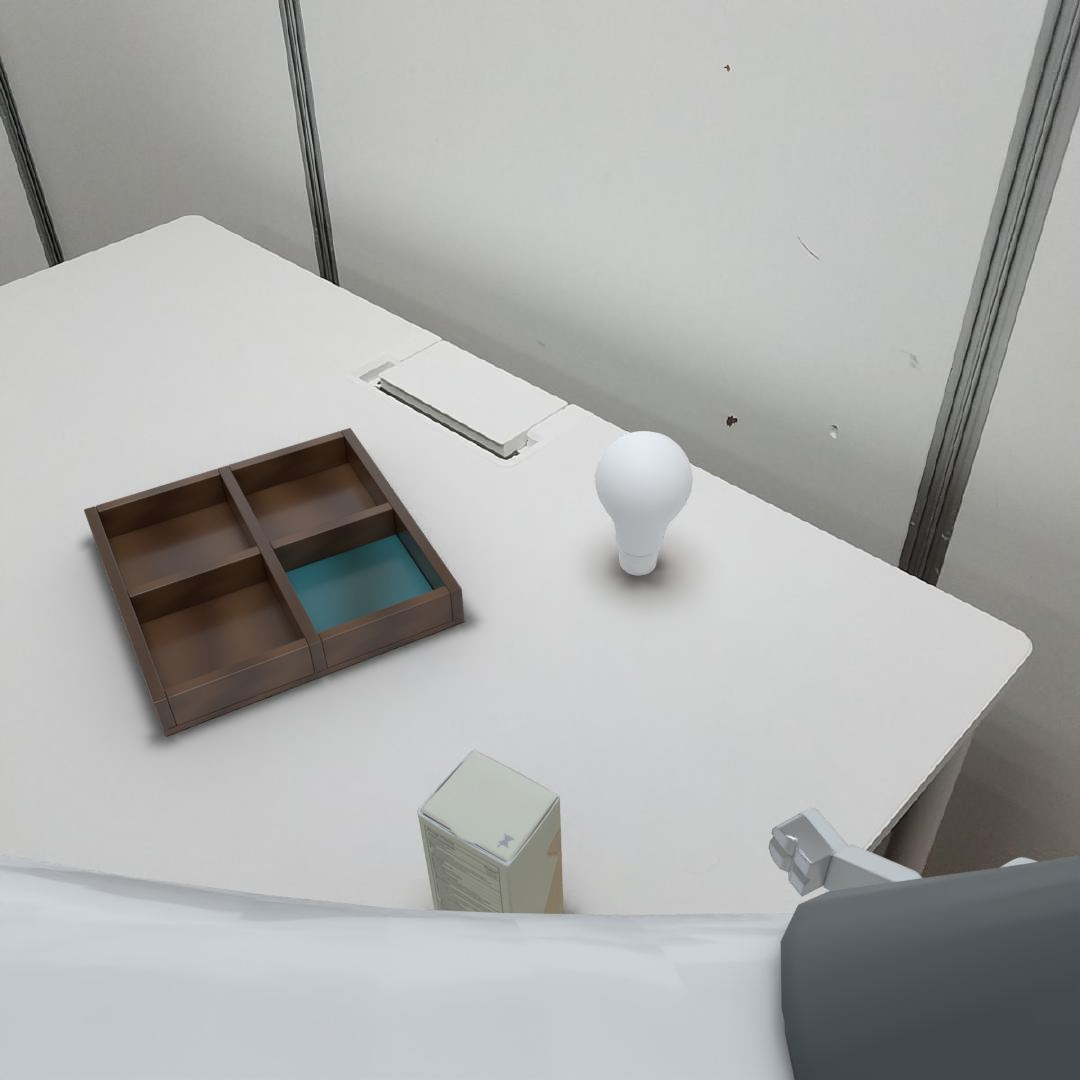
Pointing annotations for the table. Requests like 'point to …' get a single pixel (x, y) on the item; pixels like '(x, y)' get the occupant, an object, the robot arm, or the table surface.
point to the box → (493, 841)
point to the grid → (268, 576)
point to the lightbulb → (642, 494)
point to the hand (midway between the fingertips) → (661, 892)
